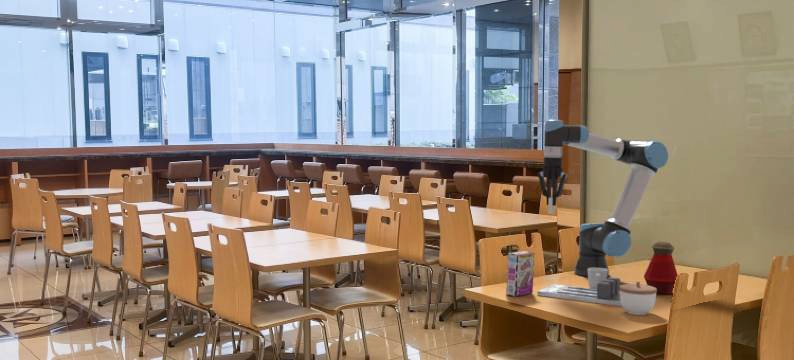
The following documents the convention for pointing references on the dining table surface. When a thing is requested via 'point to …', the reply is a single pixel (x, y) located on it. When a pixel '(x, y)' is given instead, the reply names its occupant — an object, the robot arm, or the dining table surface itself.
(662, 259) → the bottle
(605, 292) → the block
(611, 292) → the block
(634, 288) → the lidded bowl
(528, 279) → the candy bar box
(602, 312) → the dining table surface
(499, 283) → the dining table surface
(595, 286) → the cup
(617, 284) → the block
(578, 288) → the panel
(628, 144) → the robot arm
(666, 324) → the dining table surface
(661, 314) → the dining table surface
